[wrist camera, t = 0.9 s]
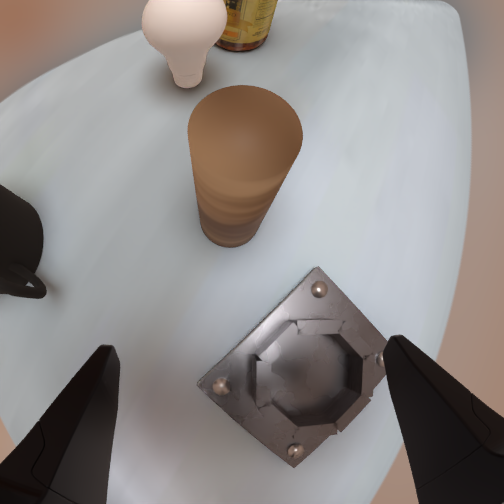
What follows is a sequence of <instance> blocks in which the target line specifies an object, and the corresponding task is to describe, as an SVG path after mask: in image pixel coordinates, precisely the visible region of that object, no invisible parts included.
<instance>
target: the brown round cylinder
mask: <svg viewBox="0 0 504 504" xmlns="http://www.w3.org/2000/svg"><path fill="white" fill-rule="evenodd" d="M188 140H189V147H190V155H191V162H192V169H193V176H194V183H195V190H196V197H197V203H198V210H199V216H200V223H201V227H202V230H203V232H204V234H205V235H206V236H207V238H208V239H209V240H211V241H212V242H213V243H215V244H217V245H219V246H222V247H229V248H231V247H238V246H241V245H243V244H245V243H247V242H248V241H249V240H251V239H252V238H253V236H254V235H255V234H256V232H257V230H258V228H259V226H260V224H261V222H262V220H263V219H264V217H265V215H266V213H267V211H268V209H269V207H270V206H271V204H272V202H273V200H274V198H275V196H276V194H277V193H278V191H279V189H280V187H281V185H282V183H283V181H284V180H285V178H286V176H287V174H288V172H289V170H290V168H291V167H292V165H293V163H294V161H295V159H296V157H297V155H298V154H299V152H300V149H301V146H302V140H303V132H302V126H301V123H300V120H299V118H298V116H297V114H296V112H295V111H294V109H293V108H292V107H291V106H290V105H289V104H288V103H287V102H286V101H285V100H284V99H282V98H281V97H280V96H278V95H276V94H275V93H273V92H271V91H268V90H266V89H263V88H259V87H255V86H248V85H238V86H230V87H225V88H222V89H219V90H217V91H215V92H213V93H211V94H209V95H208V96H206V97H205V98H204V99H202V100H201V101H200V102H199V103H198V105H197V106H196V107H195V109H194V110H193V112H192V114H191V116H190V119H189V123H188Z"/></svg>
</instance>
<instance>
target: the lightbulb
mask: <svg viewBox="0 0 504 504" xmlns="http://www.w3.org/2000/svg"><path fill="white" fill-rule="evenodd" d="M226 23H227V11H226V6H225V4H224V1H223V0H149V2H148V3H147V5H146V7H145V9H144V12H143V15H142V29H143V33H144V35H145V37H146V39H147V41H148V42H149V43H150V44H151V45H152V46H153V47H154V48H155V49H156V50H157V51H159V52H160V53H161V54H163V55H164V56H165V58H166V60H167V62H168V66H169V69H170V70H171V71H172V74H173V78H174V81H175V83H176V84H177V85H178V86H179V87H182V88H191V87H194V86H196V85H198V84H199V83H200V82H201V80H202V76H203V68H204V66H205V63H206V56H207V53H208V51H209V49H210V48H211V47H212V46H213V45H214V44H215V43H216V42H217V40H218V39H219V38H220V37H221V35H222V33H223V31H224V29H225V26H226Z"/></svg>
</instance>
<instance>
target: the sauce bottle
mask: <svg viewBox="0 0 504 504" xmlns="http://www.w3.org/2000/svg"><path fill="white" fill-rule="evenodd" d="M223 1H224V4H225V6H226V11H227V23H226V26H225V29H224V31H223V33H222V35H221V37H220V38H219V39H218V40H217V42H216V43H215V44H217V45H218V46H221V47H223V48H225V49H227V50H230V51H239V50H241V51H243V50H250V49H254V48H256V47H258V46H259V45H260V44H262V43H263V42H264V41H265V39H266V38H267V35H268V32H269V30H270V26H271V22H272V19H273V15H274V12H275V8H276V4H277V1H278V0H223Z"/></svg>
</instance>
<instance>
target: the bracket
mask: <svg viewBox="0 0 504 504" xmlns="http://www.w3.org/2000/svg"><path fill="white" fill-rule="evenodd" d="M387 342H388V341H387V340H386V339H385V338H384V337H383V336H382V335H381V333H380V332H379V331H378V330H377V329H376V328H375V327H374V326H373V325H372V323H371V322H370V321H369V320H368V319H367V318H366V317H365V316H364V315H363V314H362V312H361V311H360V310H359V309H358V308H357V307H356V306H355V305H354V304H353V303H352V302H351V300H350V299H349V298H348V297H347V296H346V295H345V294H344V293H343V292H342V291H341V290H340V289H339V288H338V286H337V285H336V284H335V283H334V282H333V281H332V280H331V279H330V278H329V277H328V276H327V275H326V274H325V273H324V272H323V270H322V269H321V268H320V267H319V266H318V267H315V268H314V269H313V270H312V271H311V272H310V273H309V274H308V275H307V276H306V277H305V278H304V279H303V280H302V281H301V282H300V283H299V284H298V285H297V286H296V287H295V288H294V289H293V290H292V291H291V292H290V293H289V295H288V296H287V297H286V298H285V299H284V300H283V301H282V302H281V303H280V304H279V305H278V306H277V307H276V308H275V309H274V310H273V311H272V312H271V313H270V314H269V315H268V316H267V317H266V318H265V319H263V320H262V321H261V322H260V323H259V324H258V325H257V326H256V327H255V328H254V329H253V330H252V331H251V332H250V333H249V334H248V335H247V336H246V337H245V338H244V339H243V340H242V341H241V342H240V343H239V344H238V345H237V346H236V347H235V348H234V349H233V350H231V351H230V352H229V353H228V354H227V355H226V356H225V357H224V358H223V359H222V360H221V361H220V362H219V363H218V364H217V365H216V366H214V367H213V368H212V369H211V370H210V371H209V372H208V373H207V374H206V375H205V376H204V377H203V378H202V379H200V380H199V381H198V382H197V386H198V387H199V388H200V389H201V390H202V391H203V392H204V393H205V394H206V395H208V396H209V397H210V398H211V399H212V400H213V401H214V402H215V403H216V404H217V405H218V406H219V407H221V408H222V409H223V410H224V411H225V412H226V413H227V414H228V415H229V416H231V417H232V418H233V419H234V420H235V421H236V422H237V423H239V424H240V425H241V426H242V427H243V428H244V429H246V430H247V431H248V432H249V433H250V434H252V435H253V436H254V437H255V438H256V439H258V440H259V441H260V442H261V443H262V444H264V445H265V446H266V447H267V448H269V449H270V450H271V451H272V452H274V453H275V454H276V455H278V456H279V457H280V458H281V459H283V460H284V461H285V462H287V463H288V464H289V465H291V466H292V467H293V468H295V467H296V466H297V465H298V464H299V463H300V462H302V461H303V460H304V459H305V458H306V457H307V456H308V455H309V454H311V453H312V452H313V451H314V450H315V449H316V448H317V447H318V446H319V445H320V444H321V443H322V442H323V441H324V440H325V439H327V438H328V437H329V436H330V435H335V434H337V429H338V430H339V431H340V432H342V431H343V430H344V429H345V428H346V427H347V425H348V424H349V423H350V422H351V421H352V420H353V419H354V418H355V417H356V416H357V415H358V414H359V413H360V412H361V411H362V410H363V409H364V407H365V406H366V405H367V404H368V403H369V402H370V401H371V400H370V399H369V398H368V397H372V396H373V389H374V388H375V387H376V386H377V385H378V383H379V382H380V381H381V380H382V379H383V377H384V376H385V375H386V371H385V366H384V362H383V356H382V354H383V350H384V348H385V346H386V344H387Z"/></svg>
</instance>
